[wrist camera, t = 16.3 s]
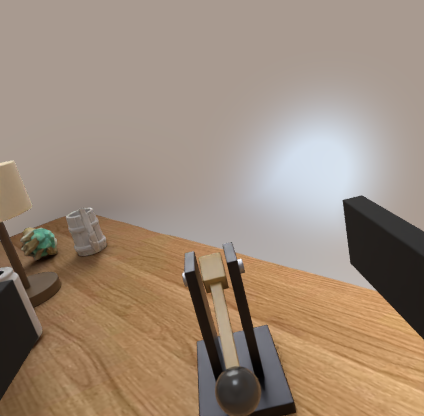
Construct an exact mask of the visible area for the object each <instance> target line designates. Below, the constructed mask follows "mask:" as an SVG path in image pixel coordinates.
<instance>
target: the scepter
mask: <svg viewBox="0 0 424 416" xmlns="http://www.w3.org/2000/svg"><path fill="white" fill-rule="evenodd" d="M21 242H22V243H23V244H24V246H23V247H22V249H21V250H22V251H24V252H25V256H32V257H34V260H39V259H40V258H41V257H42V256H46V255H47V254H50V255H51V254H52V255H54V254H56V253H57V239H55V238H54V235H53V234H52V232H51V231H48V230H46V229H42V228H38V229H34V228H26V229H25V230H24V231H23V237H22V238H21Z"/></svg>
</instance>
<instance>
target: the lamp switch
mask: <svg viewBox="0 0 424 416" xmlns="http://www.w3.org/2000/svg"><path fill="white" fill-rule="evenodd" d="M199 263H200V269H201V274H202V280H203V283H204V286H205V289H206V291H207V293H212V298H213V303H214V309H215V314H216V319H217V324H218V329H219V335H220V340H221V345H222V350H223V355H224V361H225V366H226V370H225V371H223V372H222V373H221V374H220V376H219V377H218V379H217V382H216V386H215V396H216V400H217V403H218V405H219V406H220V408H221V409H222V410H223V411H224V412H225V413H226V414H228V415H230V416H248V415H250V414H251V413H252V412H253V411H254V410H255V409H256V408H257V406H258V404H259V402H260V399H261V387H260V383H259V381H258V379H257V377H256V376H255V374H254V373H253V372H252V371H250V370H249V369H247V368H245V367H241V366H240V364H239V360H238V355H237V351H236V346H235V341H234V337H233V332H232V328H231V323H230V319H229V314H228V309H227V305H226V300H225V296H224V291H223V289H227V288H229V287H228V282H227V278H226V274H225V269H224V265H223V261H222V257H221V254H220V252H219V253H214V254H210V255H206V256H202V257H199Z"/></svg>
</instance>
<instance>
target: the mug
mask: <svg viewBox="0 0 424 416" xmlns="http://www.w3.org/2000/svg"><path fill="white" fill-rule="evenodd" d="M66 219H67V222H68V225H69V228H68V229H69V232H70V233H71V234H72V237H73V240H74V243H75V246H74V248H75V250H76V252H78V255H79V256H87V255H92V254H95V253H97V252H99V251H101V250H103V249H104V248H105V247H106V246H107V244H106V237H105V236H104V235H103V234H102V231H101V229H100V226H99V224H98V223H99V221H98V219H97V218H96V216H95V214H94V211H93V209H92V208H85V209H84V208H81V209H79V210H78V211H75V212H72V213H70V214H69V215H67V216H66Z"/></svg>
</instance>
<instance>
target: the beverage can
mask: <svg viewBox="0 0 424 416" xmlns="http://www.w3.org/2000/svg"><path fill="white" fill-rule="evenodd" d="M11 279H13V281H14V284H15V286H16V288H17V290H18V292H19V295H20V297H21V299H22V301H23V303H24V306H25V308H26V310H27V312H28V314H29V317H30V319H31V321H32V323H33V325H34V328H35V330H36V332H37V334H38V336H39V337H40V336H41V334H42V327H41V324H40V322H39V320H38V318H37V316H36V313H35V311H34V309H33V307H32V305H31V302H30V300H29V298H28V296H27V293H26V291H25V289H24V287H23V285H22V282H21V280H20V278H19V276H18V274H17V273H15V272H13V269H12V268H11V267H4V268H0V282H3V281H7V280H11ZM38 339H39V338H38ZM38 339H37V340H38ZM36 342H37V341H36Z"/></svg>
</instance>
